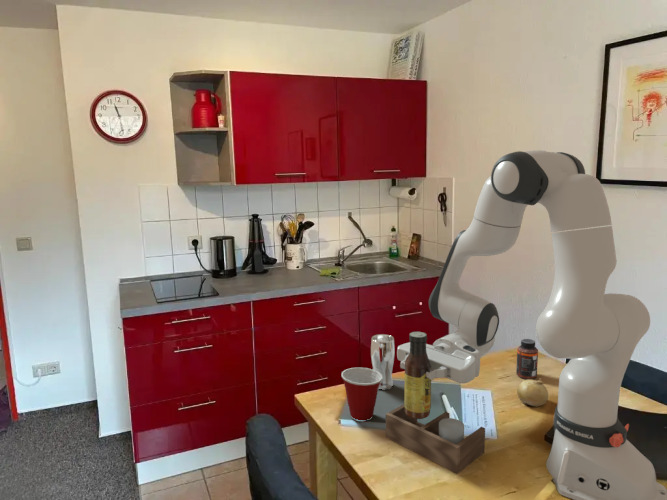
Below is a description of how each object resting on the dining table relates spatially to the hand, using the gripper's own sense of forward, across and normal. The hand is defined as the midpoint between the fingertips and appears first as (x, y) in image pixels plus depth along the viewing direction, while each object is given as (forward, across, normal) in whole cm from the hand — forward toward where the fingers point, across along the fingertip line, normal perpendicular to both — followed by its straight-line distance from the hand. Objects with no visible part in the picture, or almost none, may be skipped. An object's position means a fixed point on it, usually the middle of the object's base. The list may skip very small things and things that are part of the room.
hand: (415, 370), depth 117 cm
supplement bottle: (-53, +2, +19) cm, 56 cm away
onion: (-38, +11, +19) cm, 43 cm away
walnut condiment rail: (-1, +5, +18) cm, 19 cm away
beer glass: (-17, -25, +19) cm, 35 cm away
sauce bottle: (-1, 0, +11) cm, 11 cm away
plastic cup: (0, -17, +18) cm, 25 cm away
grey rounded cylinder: (-1, +10, +17) cm, 20 cm away
